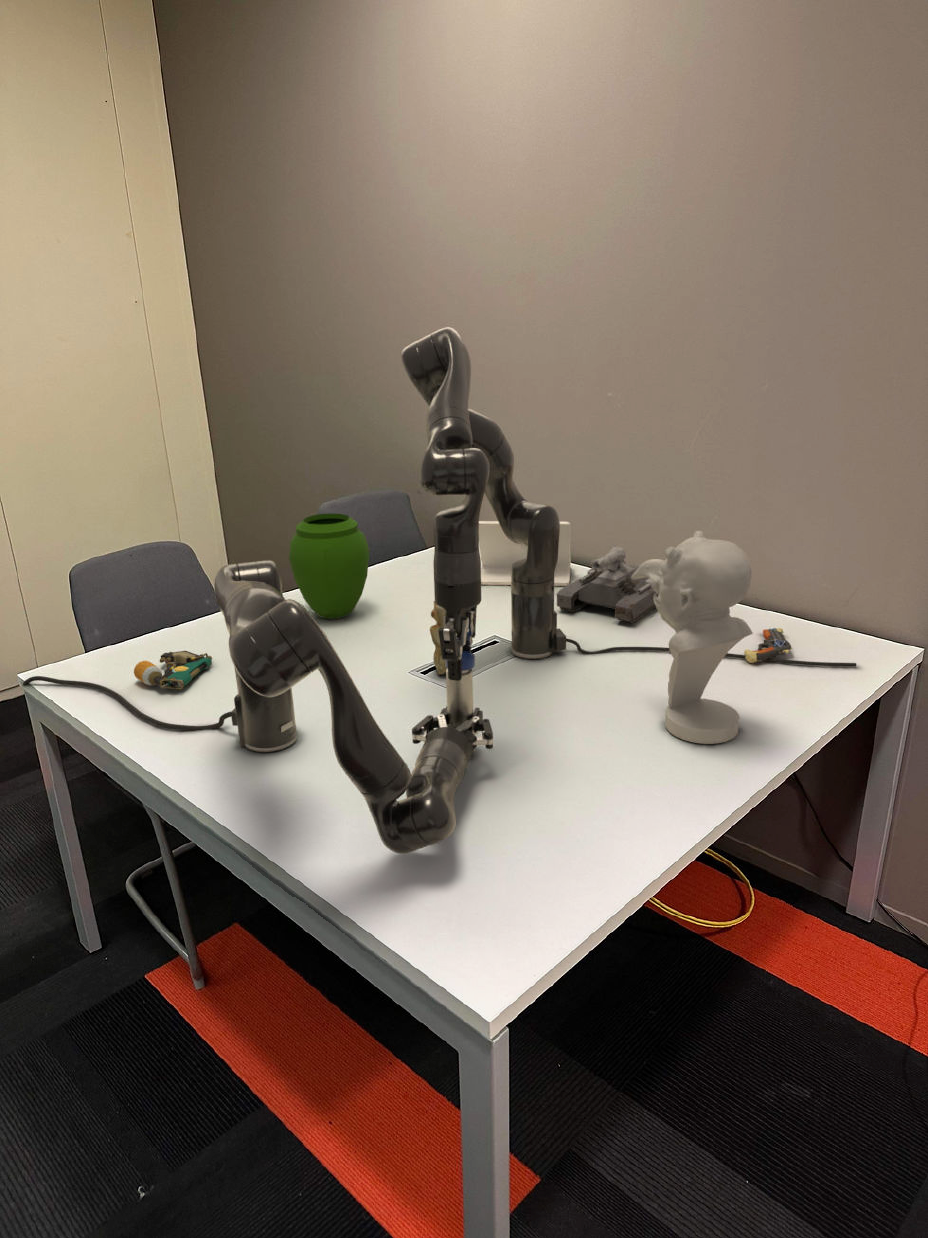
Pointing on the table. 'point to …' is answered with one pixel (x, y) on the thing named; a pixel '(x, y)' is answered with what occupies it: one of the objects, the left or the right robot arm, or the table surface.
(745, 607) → the table surface
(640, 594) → the toy
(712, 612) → the bust sculpture
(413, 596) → the table surface
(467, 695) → the jar
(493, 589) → the table surface
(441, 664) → the sculpture
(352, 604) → the vase
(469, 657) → the lid
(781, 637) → the toy gun
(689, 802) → the table surface
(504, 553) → the tablet stand
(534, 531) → the right robot arm
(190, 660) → the spray gun
